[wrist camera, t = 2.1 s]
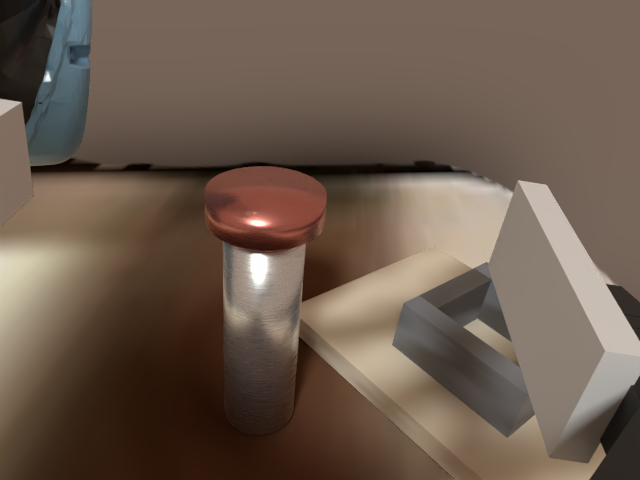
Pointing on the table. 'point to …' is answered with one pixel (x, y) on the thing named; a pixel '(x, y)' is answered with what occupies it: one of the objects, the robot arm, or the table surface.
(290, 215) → the pin
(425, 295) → the socket
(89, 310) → the table surface
